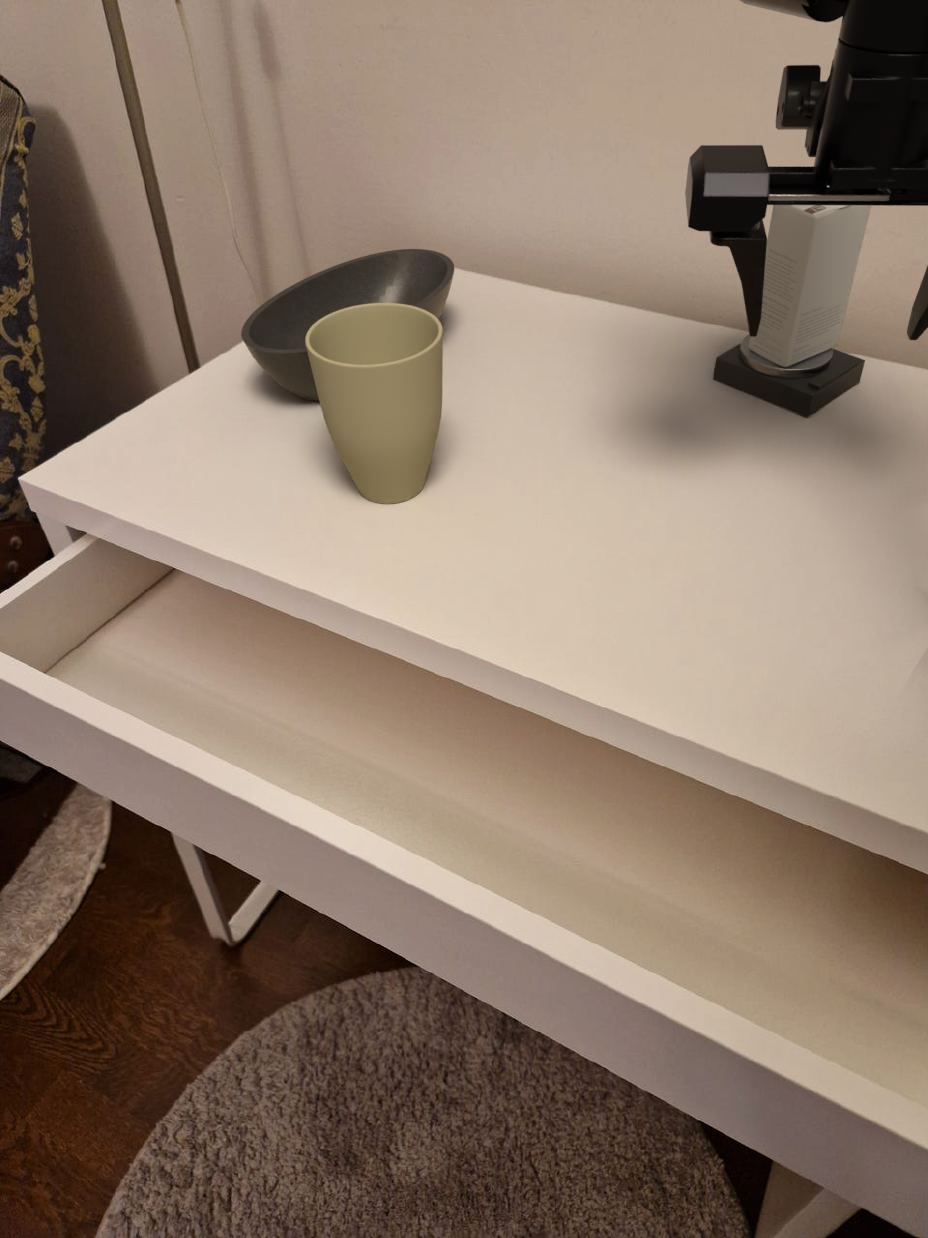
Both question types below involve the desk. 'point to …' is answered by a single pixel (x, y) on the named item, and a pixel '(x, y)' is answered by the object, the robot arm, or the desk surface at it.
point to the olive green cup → (380, 393)
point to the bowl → (340, 307)
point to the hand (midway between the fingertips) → (831, 335)
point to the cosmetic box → (807, 279)
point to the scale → (789, 377)
